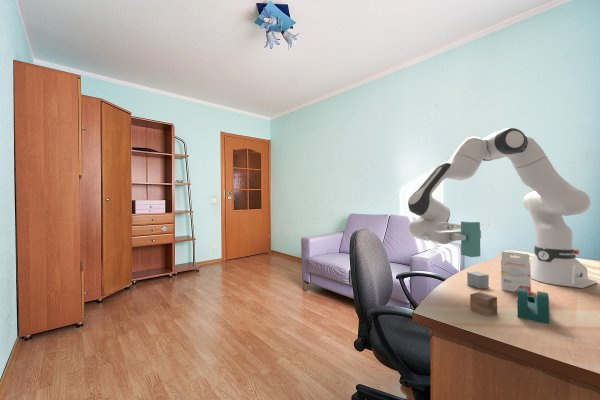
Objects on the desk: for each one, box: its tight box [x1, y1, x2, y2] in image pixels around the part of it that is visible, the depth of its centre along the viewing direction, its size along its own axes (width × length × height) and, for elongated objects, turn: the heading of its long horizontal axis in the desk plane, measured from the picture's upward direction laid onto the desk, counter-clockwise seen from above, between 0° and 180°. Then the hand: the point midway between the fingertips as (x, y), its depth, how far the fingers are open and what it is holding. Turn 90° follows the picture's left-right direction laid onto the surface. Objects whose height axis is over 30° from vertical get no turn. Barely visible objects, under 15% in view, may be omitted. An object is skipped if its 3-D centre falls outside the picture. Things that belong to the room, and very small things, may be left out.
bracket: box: [516, 288, 550, 325], centre depth 81 cm, size 18×7×8 cm, turn 140°
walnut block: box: [469, 291, 498, 317], centre depth 80 cm, size 5×5×5 cm
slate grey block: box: [466, 270, 490, 289], centre depth 104 cm, size 5×5×5 cm
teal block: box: [460, 220, 481, 258], centre depth 91 cm, size 4×4×12 cm
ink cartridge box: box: [500, 251, 532, 295], centre depth 98 cm, size 9×5×15 cm, turn 47°
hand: (472, 237), depth 91 cm, fingers closed on teal block, 4 cm apart
